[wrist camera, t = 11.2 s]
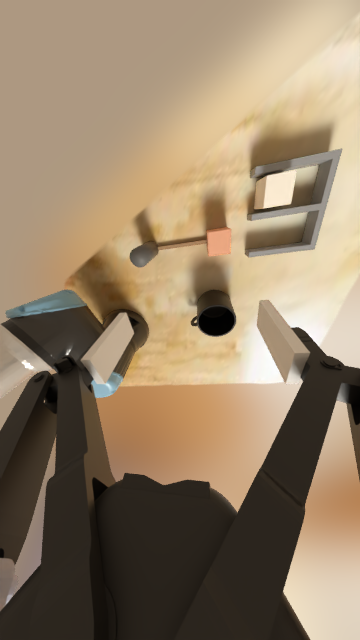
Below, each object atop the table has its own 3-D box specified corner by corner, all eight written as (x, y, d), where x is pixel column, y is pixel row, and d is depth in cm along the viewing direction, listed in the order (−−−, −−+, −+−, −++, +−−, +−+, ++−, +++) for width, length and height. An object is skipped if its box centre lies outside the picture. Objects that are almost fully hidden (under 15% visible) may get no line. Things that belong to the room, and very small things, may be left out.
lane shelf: (245, 254, 39) (248, 257, 36) (250, 171, 31) (255, 166, 28) (305, 246, 36) (314, 249, 34) (327, 155, 29) (342, 148, 26)
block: (254, 209, 34) (263, 208, 29) (256, 181, 31) (266, 175, 26) (277, 205, 33) (290, 203, 28) (281, 177, 31) (297, 169, 26)
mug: (184, 302, 47) (180, 318, 40) (222, 283, 43) (227, 298, 36) (198, 325, 51) (198, 344, 44) (235, 310, 47) (242, 328, 40)
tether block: (146, 259, 42) (133, 270, 33) (142, 240, 39) (126, 247, 31) (226, 248, 38) (234, 257, 30) (226, 227, 36) (234, 230, 28)
